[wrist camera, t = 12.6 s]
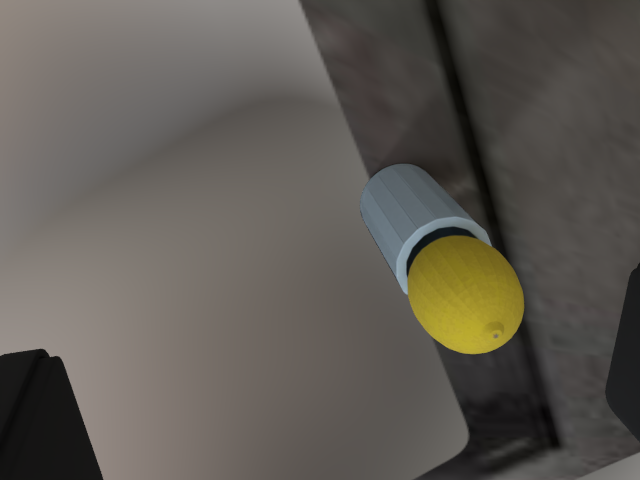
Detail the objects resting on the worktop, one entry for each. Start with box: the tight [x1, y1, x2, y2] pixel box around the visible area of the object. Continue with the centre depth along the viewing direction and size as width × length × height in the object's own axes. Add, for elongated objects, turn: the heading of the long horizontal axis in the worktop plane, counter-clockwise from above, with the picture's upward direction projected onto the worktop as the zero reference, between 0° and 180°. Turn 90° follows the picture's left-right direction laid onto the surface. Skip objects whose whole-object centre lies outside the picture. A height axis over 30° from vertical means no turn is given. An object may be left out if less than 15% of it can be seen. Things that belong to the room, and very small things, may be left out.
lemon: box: [407, 236, 524, 354], centre depth 30 cm, size 6×6×8 cm
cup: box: [360, 164, 492, 295], centre depth 36 cm, size 6×6×9 cm
